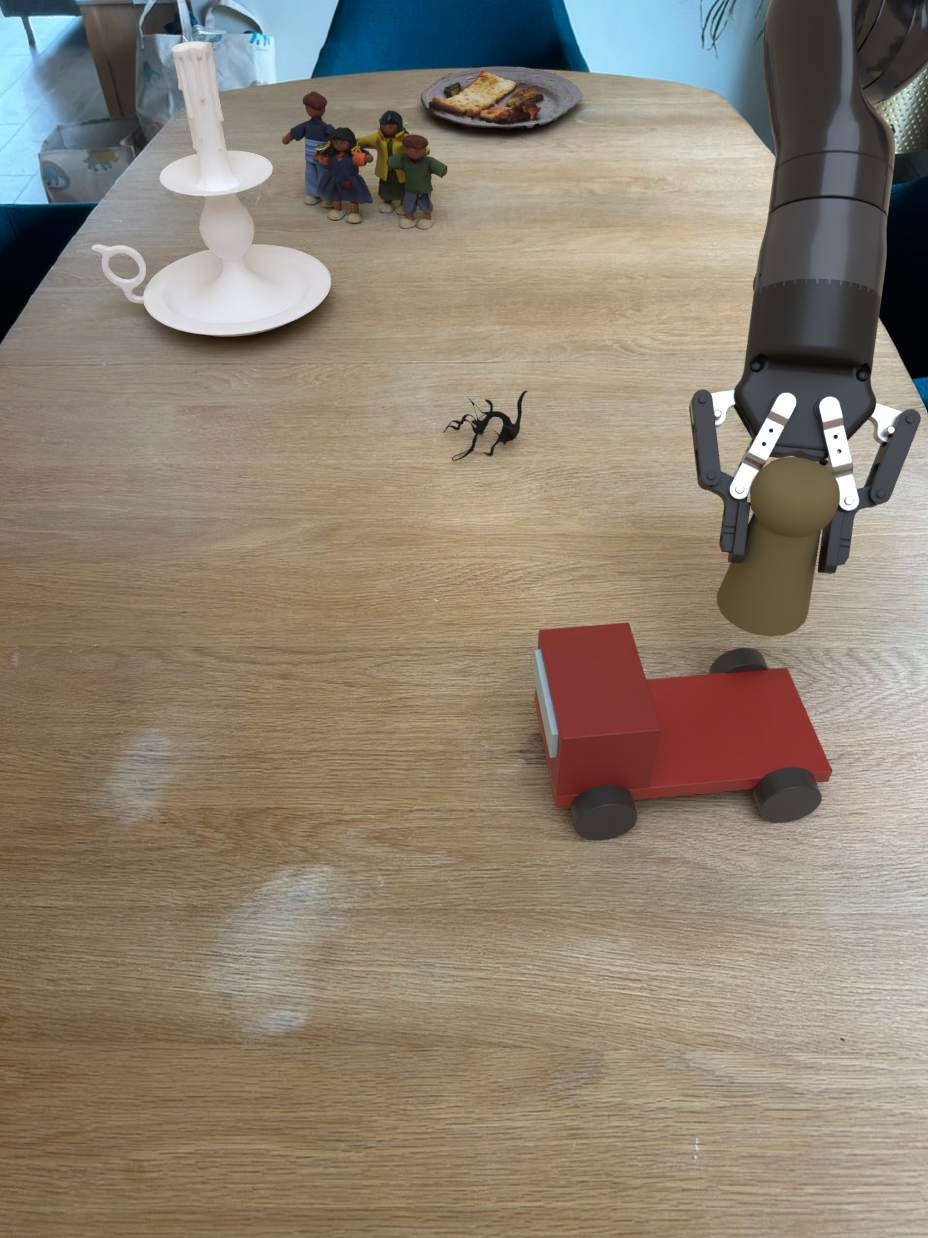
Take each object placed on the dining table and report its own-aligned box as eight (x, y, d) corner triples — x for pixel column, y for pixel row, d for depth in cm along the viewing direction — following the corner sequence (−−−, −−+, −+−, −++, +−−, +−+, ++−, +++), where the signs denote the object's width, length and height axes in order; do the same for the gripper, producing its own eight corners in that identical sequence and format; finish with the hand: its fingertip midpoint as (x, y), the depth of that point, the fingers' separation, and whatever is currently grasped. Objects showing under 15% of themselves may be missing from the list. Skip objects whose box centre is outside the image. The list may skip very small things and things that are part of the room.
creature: (433, 469, 94) (512, 470, 91) (419, 419, 91) (500, 419, 87) (462, 423, 99) (538, 423, 96) (450, 375, 96) (528, 373, 93)
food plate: (523, 151, 145) (524, 125, 142) (393, 120, 154) (391, 96, 151) (603, 99, 159) (605, 75, 157) (480, 73, 168) (480, 50, 166)
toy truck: (771, 680, 74) (799, 591, 67) (828, 818, 66) (867, 732, 59) (524, 702, 73) (529, 613, 66) (551, 845, 64) (559, 760, 58)
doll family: (272, 219, 130) (255, 110, 120) (292, 190, 136) (278, 84, 126) (446, 231, 127) (444, 120, 117) (459, 201, 133) (458, 93, 123)
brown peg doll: (803, 645, 64) (850, 514, 57) (709, 624, 66) (742, 493, 58) (812, 583, 68) (857, 453, 60) (723, 564, 70) (756, 434, 62)
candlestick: (126, 276, 119) (54, 10, 99) (333, 264, 121) (304, 0, 101) (98, 369, 105) (7, 80, 85) (334, 354, 106) (299, 67, 86)
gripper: (705, 264, 59) (668, 551, 59) (959, 283, 57) (920, 579, 57) (693, 302, 66) (660, 557, 67) (918, 321, 64) (883, 582, 65)
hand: (781, 566), depth 62 cm, fingers closed on brown peg doll, 5 cm apart
